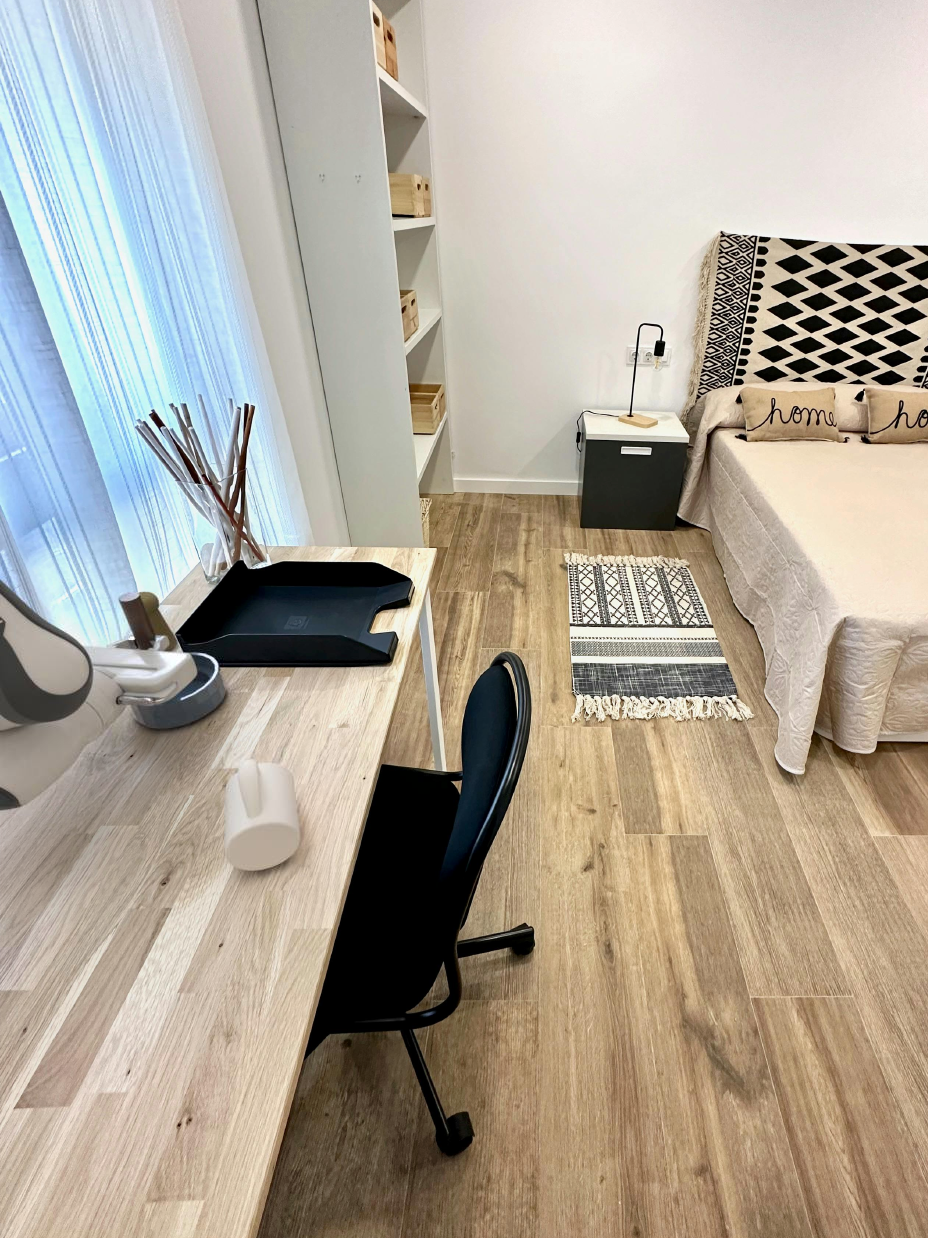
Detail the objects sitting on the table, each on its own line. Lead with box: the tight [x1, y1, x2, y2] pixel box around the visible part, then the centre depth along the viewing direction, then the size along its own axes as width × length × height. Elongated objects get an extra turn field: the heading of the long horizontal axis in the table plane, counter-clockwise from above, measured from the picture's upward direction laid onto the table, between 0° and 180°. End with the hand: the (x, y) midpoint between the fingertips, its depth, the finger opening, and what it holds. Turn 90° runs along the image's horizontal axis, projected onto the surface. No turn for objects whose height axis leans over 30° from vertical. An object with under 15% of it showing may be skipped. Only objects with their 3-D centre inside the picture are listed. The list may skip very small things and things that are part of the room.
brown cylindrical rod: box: [118, 591, 156, 650], centre depth 91 cm, size 3×3×18 cm
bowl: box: [129, 651, 227, 730], centre depth 99 cm, size 13×13×6 cm
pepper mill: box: [138, 591, 178, 652], centre depth 110 cm, size 6×6×11 cm
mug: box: [224, 758, 301, 872], centre depth 77 cm, size 8×10×12 cm
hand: (150, 638), depth 92 cm, fingers closed on brown cylindrical rod, 2 cm apart
